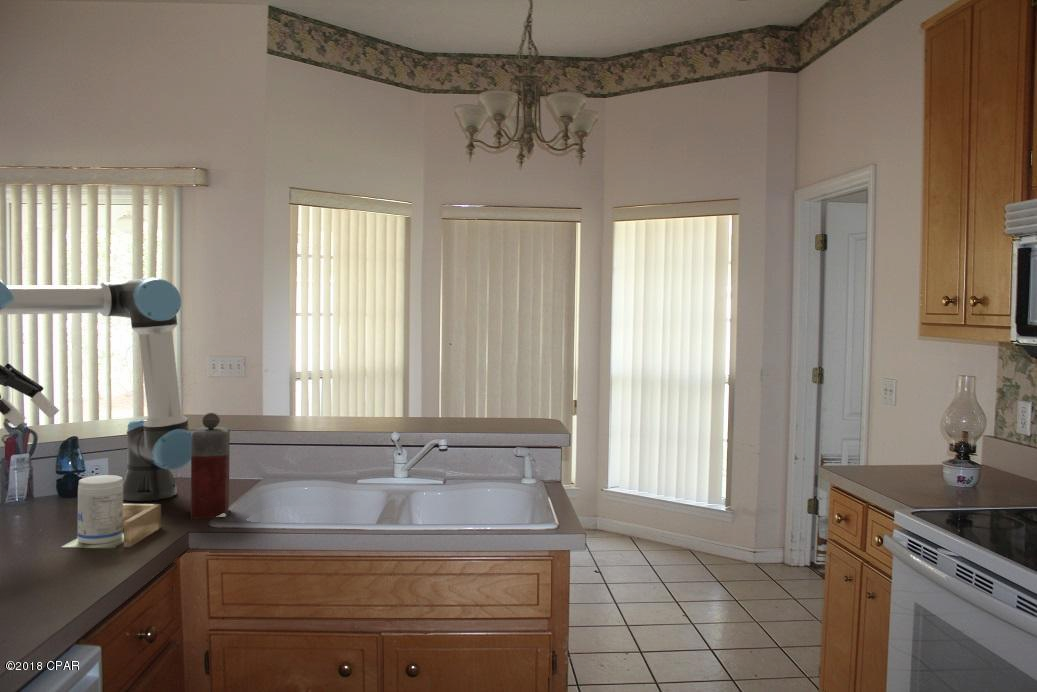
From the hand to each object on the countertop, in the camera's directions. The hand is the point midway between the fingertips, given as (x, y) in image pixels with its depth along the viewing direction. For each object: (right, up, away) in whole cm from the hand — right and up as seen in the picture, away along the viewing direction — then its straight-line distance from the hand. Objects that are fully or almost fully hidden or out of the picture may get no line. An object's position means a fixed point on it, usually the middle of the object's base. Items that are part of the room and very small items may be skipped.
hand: (38, 418), depth 179 cm
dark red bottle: (+29, -29, +29) cm, 50 cm away
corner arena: (+15, -29, +5) cm, 33 cm away
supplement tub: (+13, -30, +2) cm, 32 cm away
